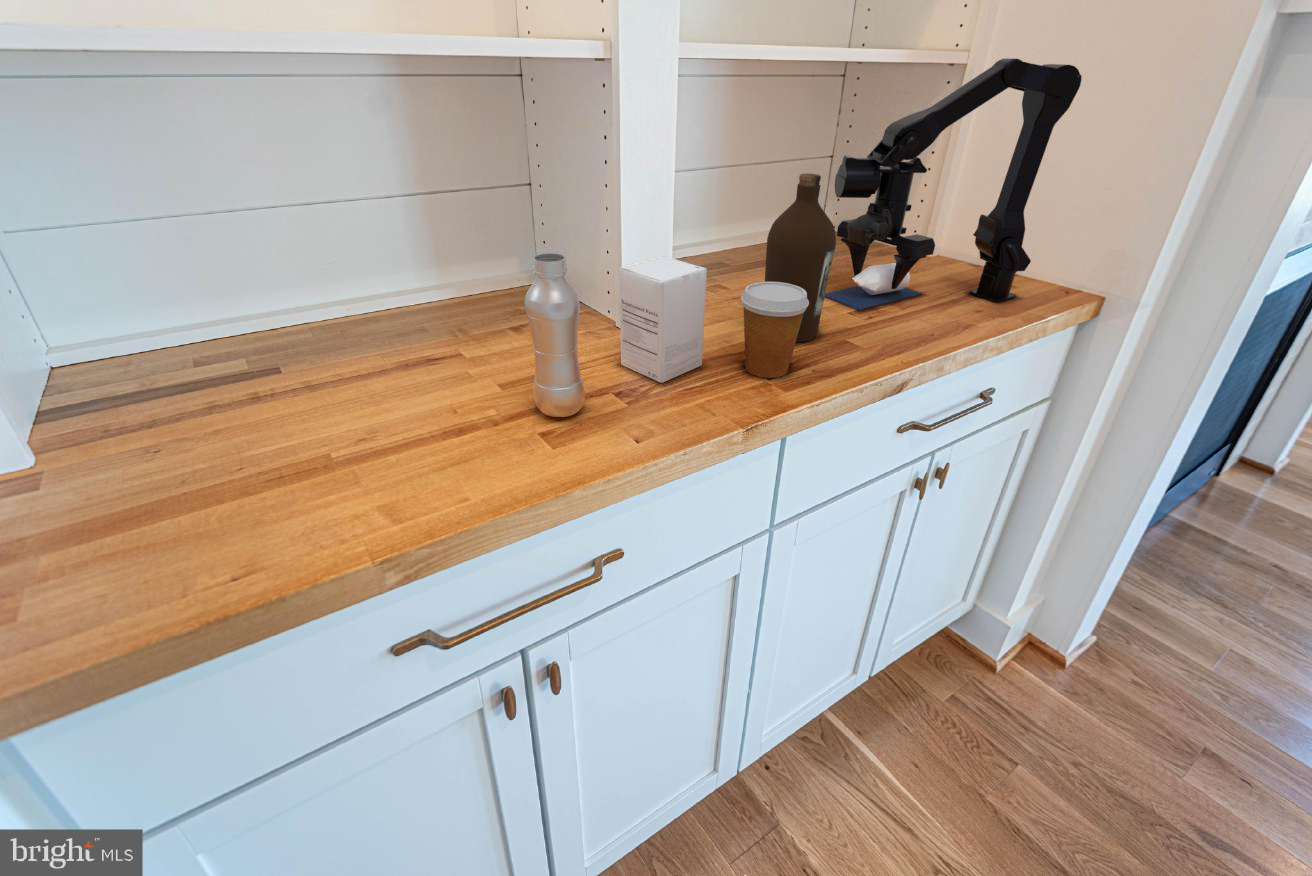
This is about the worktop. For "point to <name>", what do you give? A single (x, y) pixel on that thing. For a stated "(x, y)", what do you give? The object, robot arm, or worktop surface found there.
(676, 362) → the white product box
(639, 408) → the worktop surface
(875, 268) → the white tapered cylinder
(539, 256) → the plastic bottle
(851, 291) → the cloth
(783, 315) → the disposable coffee cup
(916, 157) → the robot arm
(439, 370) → the worktop surface
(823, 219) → the olive oil
